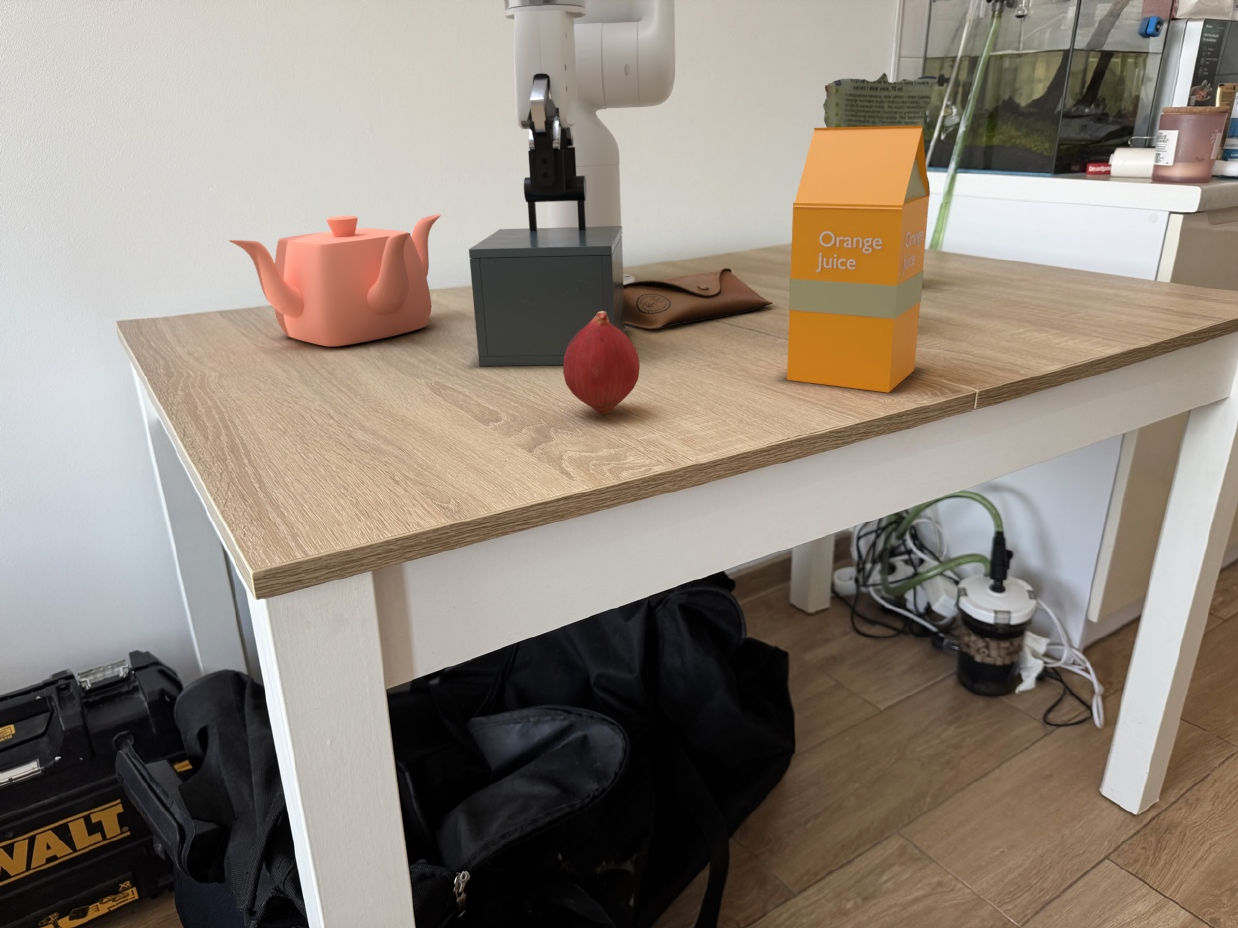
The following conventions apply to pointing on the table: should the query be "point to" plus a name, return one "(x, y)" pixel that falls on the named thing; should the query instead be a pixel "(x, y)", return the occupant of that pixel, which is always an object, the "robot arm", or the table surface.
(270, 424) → the table surface
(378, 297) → the pot
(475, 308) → the dark box
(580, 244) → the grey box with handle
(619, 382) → the onion
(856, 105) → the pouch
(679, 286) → the sunglasses case
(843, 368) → the orange juice
